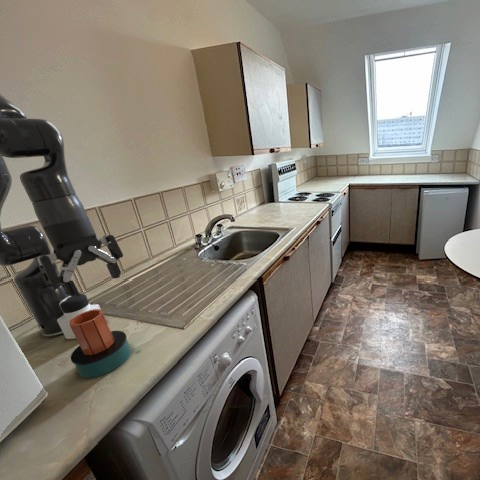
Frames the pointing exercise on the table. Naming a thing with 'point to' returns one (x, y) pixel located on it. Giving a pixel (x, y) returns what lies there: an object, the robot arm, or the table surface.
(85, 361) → the teal tin
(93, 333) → the terracotta cup
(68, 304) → the medicine bottle
